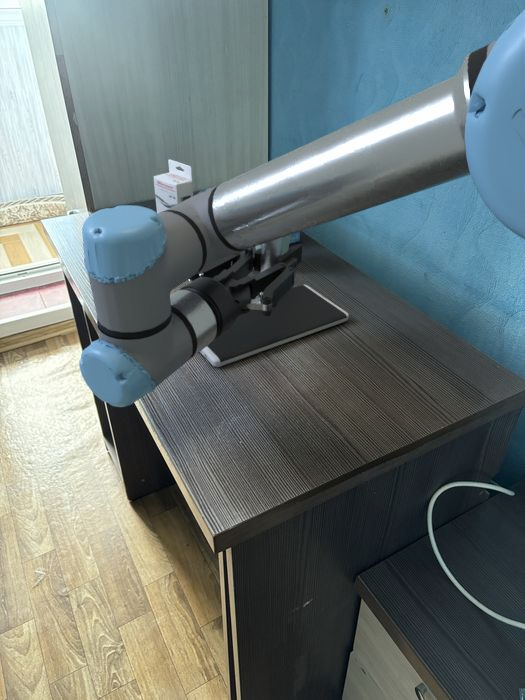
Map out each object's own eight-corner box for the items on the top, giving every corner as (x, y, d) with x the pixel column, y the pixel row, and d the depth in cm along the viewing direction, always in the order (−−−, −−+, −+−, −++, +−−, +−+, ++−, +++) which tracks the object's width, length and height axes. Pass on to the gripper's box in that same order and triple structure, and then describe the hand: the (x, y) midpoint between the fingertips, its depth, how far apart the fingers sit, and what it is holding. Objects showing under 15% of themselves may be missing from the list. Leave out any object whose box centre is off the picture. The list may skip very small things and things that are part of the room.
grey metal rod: (282, 303, 80) (287, 223, 72) (271, 311, 78) (274, 229, 70) (267, 297, 81) (270, 217, 74) (255, 304, 79) (257, 223, 72)
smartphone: (177, 329, 88) (176, 321, 86) (304, 290, 100) (305, 282, 99) (215, 371, 79) (214, 361, 78) (350, 322, 91) (351, 313, 90)
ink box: (157, 225, 125) (150, 162, 116) (173, 219, 128) (168, 158, 119) (179, 235, 120) (175, 170, 112) (196, 229, 123) (192, 166, 115)
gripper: (148, 322, 69) (245, 259, 85) (249, 363, 62) (334, 285, 78) (142, 271, 64) (245, 215, 81) (250, 309, 58) (339, 239, 74)
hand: (289, 249), depth 79 cm, fingers closed on grey metal rod, 3 cm apart
